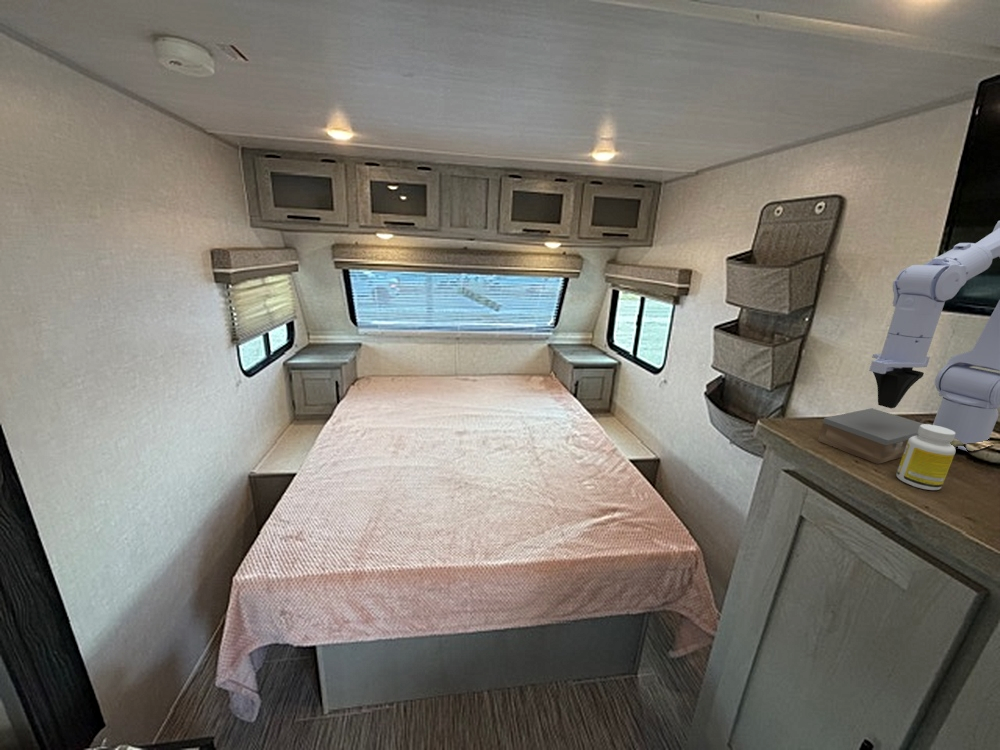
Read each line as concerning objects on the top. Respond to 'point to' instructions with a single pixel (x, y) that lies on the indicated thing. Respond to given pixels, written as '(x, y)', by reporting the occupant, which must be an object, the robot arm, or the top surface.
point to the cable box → (861, 445)
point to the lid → (876, 425)
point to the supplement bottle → (927, 457)
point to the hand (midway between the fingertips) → (886, 406)
